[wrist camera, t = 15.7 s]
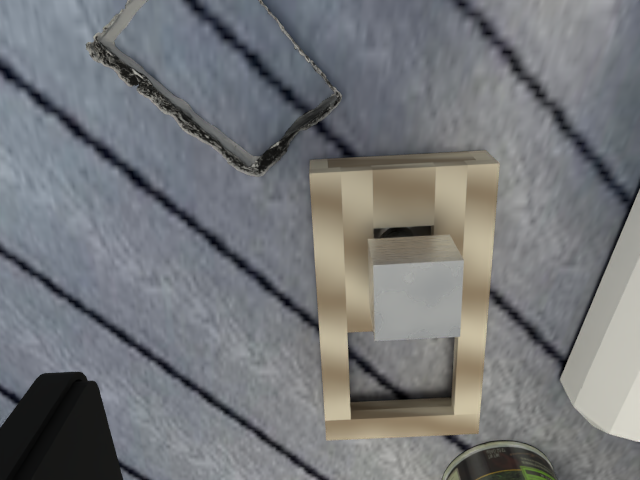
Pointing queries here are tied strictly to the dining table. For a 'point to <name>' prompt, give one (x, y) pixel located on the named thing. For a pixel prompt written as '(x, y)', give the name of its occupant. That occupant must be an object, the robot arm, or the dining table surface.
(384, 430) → the keyhole plate
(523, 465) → the coffee can
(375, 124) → the dining table surface
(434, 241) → the keyhole peg
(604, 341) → the crystal
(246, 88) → the dining table surface
